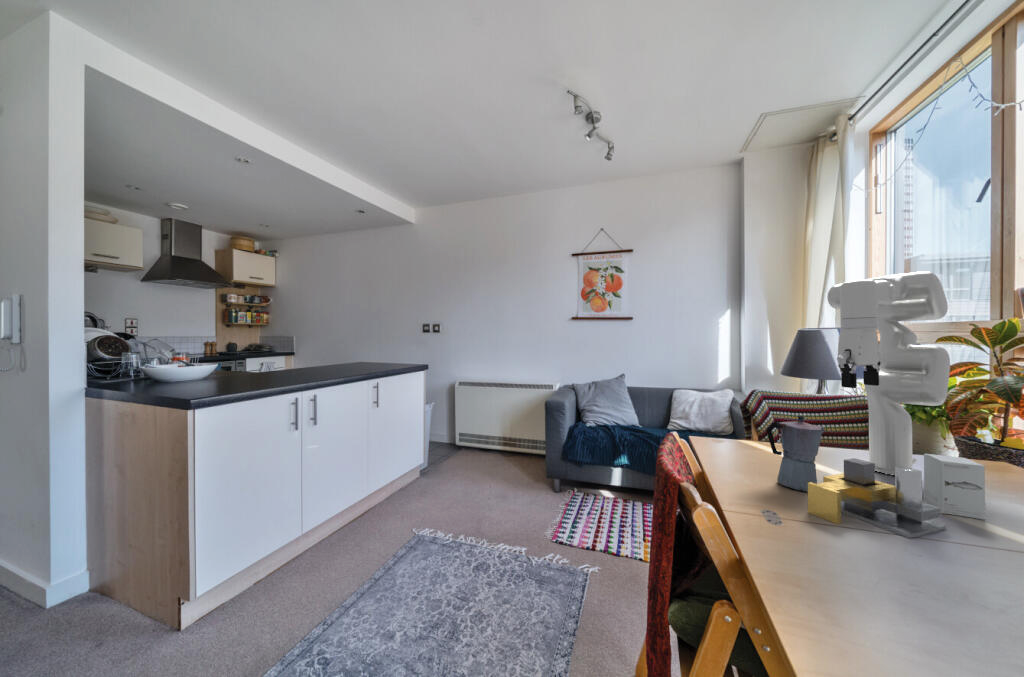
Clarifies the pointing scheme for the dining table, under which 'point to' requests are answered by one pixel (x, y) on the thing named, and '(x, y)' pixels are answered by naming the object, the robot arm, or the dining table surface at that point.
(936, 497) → the supplement box
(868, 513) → the stepped holder fixture
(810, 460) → the moka pot
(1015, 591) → the dining table surface
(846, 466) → the wedge pin
